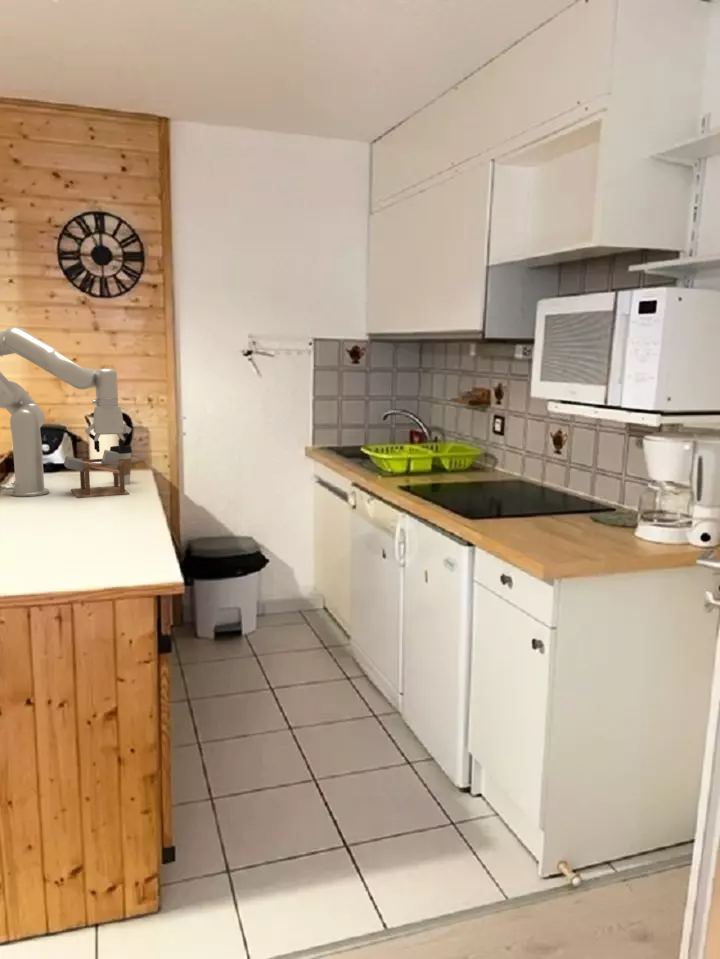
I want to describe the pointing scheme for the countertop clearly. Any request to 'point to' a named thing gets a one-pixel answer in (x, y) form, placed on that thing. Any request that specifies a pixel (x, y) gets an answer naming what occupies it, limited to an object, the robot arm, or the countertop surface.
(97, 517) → the countertop surface
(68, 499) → the countertop surface
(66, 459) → the trapdoor
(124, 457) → the coffee cup
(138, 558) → the countertop surface
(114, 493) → the frame
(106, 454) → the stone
